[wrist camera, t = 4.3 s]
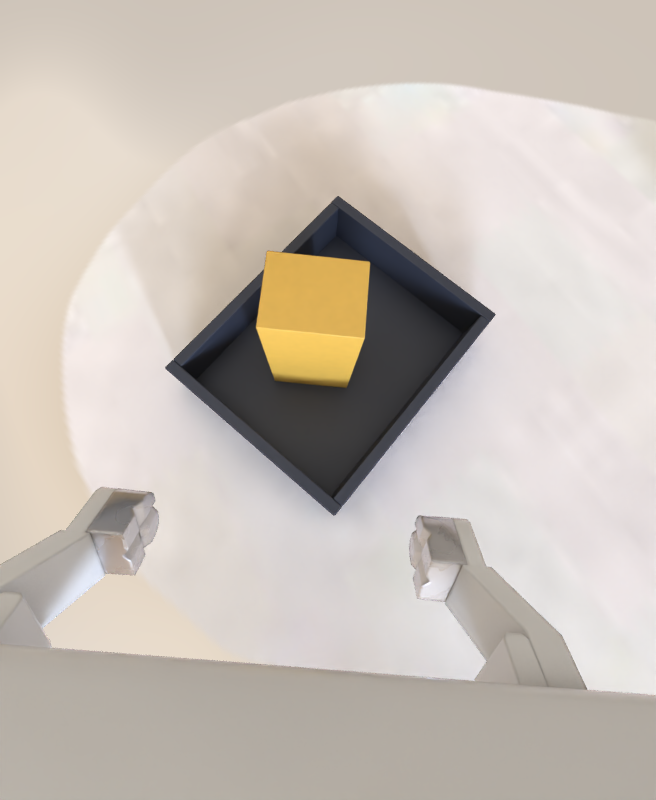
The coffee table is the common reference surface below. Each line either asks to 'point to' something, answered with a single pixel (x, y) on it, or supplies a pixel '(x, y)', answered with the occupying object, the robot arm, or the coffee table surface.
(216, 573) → the coffee table surface
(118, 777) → the robot arm
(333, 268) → the cheese
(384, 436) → the pan
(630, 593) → the coffee table surface
